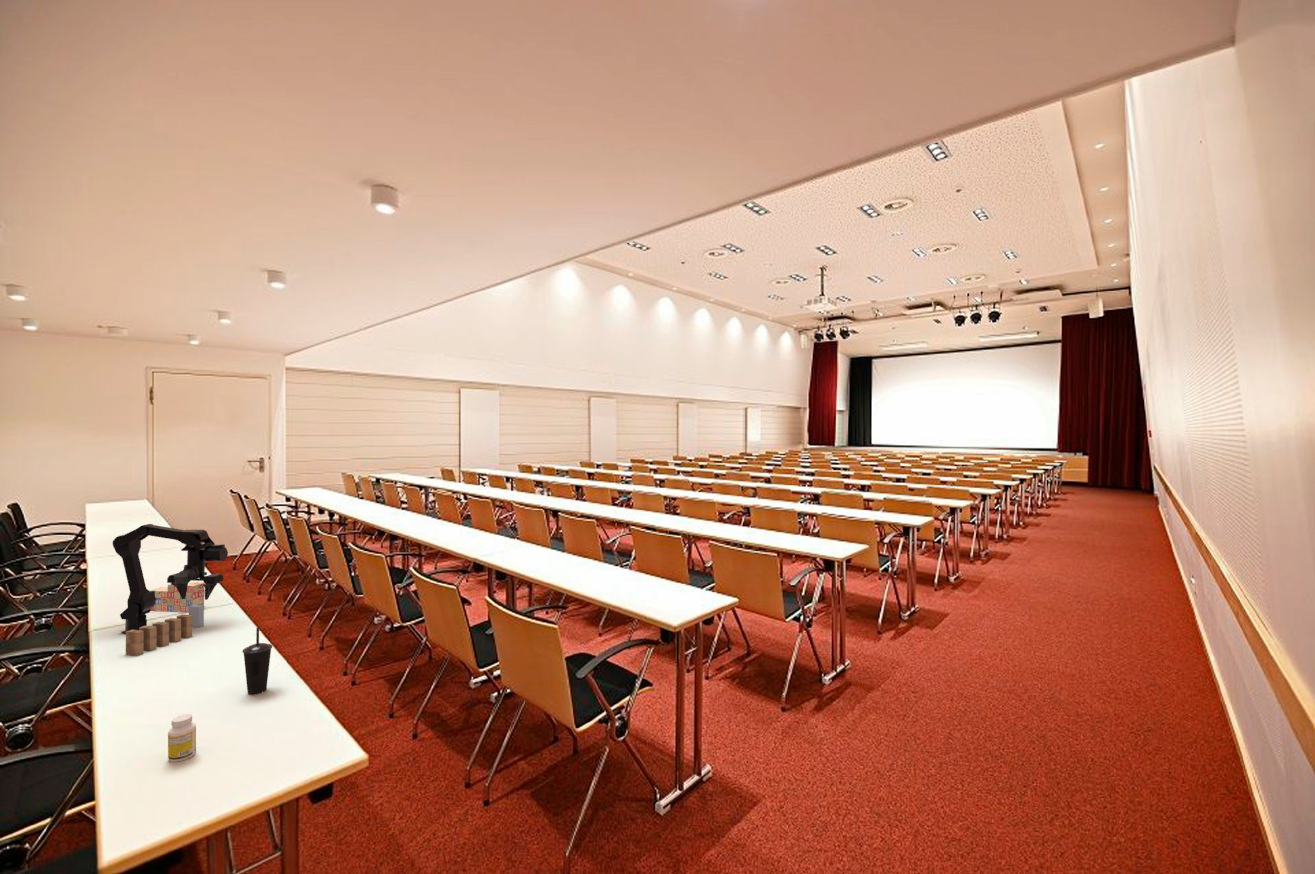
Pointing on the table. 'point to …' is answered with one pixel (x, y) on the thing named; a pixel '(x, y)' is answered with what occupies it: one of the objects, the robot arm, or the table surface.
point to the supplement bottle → (181, 738)
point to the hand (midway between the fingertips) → (194, 599)
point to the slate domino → (197, 615)
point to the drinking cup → (257, 665)
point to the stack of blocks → (178, 598)
